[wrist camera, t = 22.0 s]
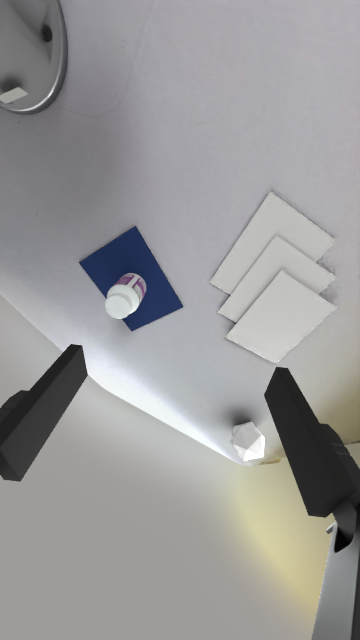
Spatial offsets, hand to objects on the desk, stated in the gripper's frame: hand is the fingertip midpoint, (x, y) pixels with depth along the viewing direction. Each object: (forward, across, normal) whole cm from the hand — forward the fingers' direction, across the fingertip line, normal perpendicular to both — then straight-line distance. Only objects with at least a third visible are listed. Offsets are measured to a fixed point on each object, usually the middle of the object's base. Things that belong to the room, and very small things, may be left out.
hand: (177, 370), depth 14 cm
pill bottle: (+27, -10, -4) cm, 29 cm away
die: (+27, +22, -44) cm, 56 cm away
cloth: (+27, -10, -4) cm, 29 cm away
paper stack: (+27, +17, -3) cm, 32 cm away
